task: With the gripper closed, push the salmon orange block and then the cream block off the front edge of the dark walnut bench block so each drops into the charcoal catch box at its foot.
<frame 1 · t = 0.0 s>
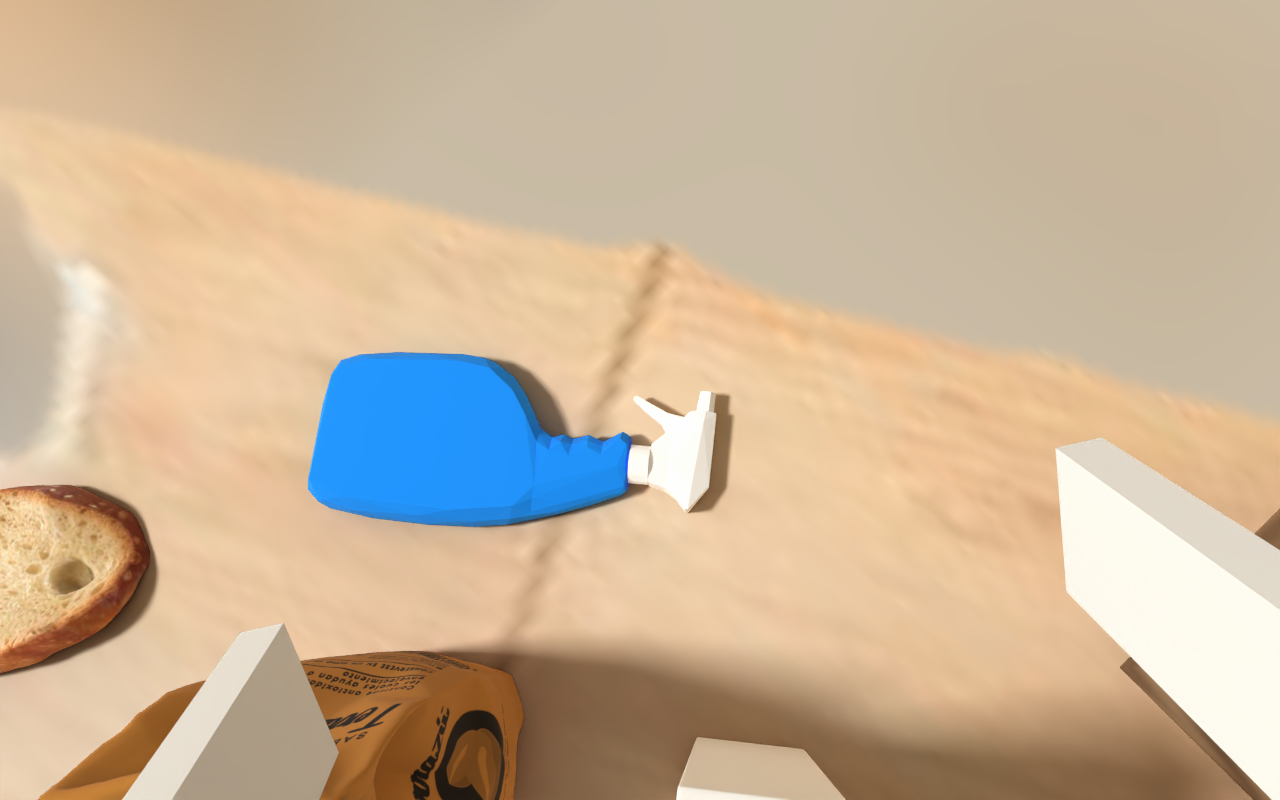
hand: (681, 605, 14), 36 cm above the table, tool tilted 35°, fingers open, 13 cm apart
coffee package: (425, 741, 49), on the table
spray bottle: (519, 448, 54), on the table
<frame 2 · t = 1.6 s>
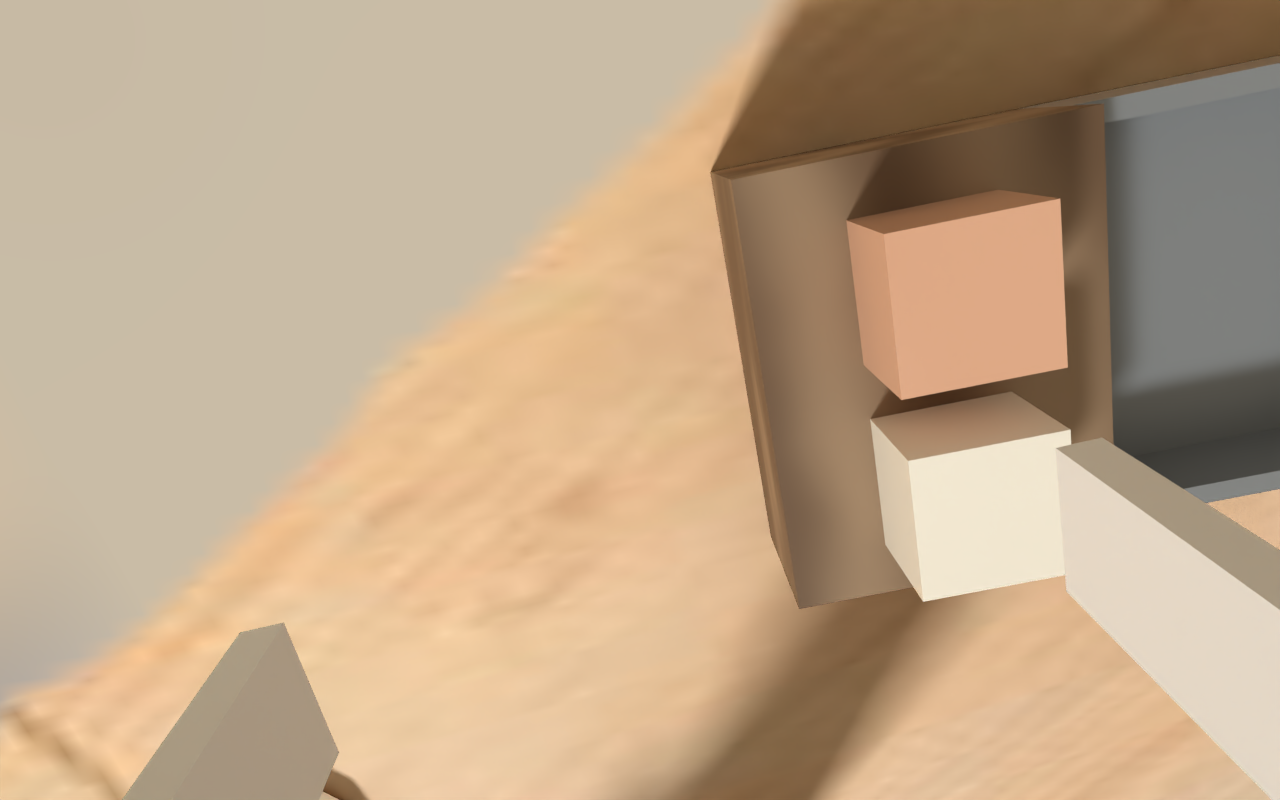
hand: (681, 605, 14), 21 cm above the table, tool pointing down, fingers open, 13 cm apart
salmon orange block: (929, 279, 28), point 6 cm above the table, touching bench block
cream block: (946, 470, 30), point 6 cm above the table, touching bench block
catch box: (1198, 276, 35), on the table
bench block: (885, 338, 35), on the table
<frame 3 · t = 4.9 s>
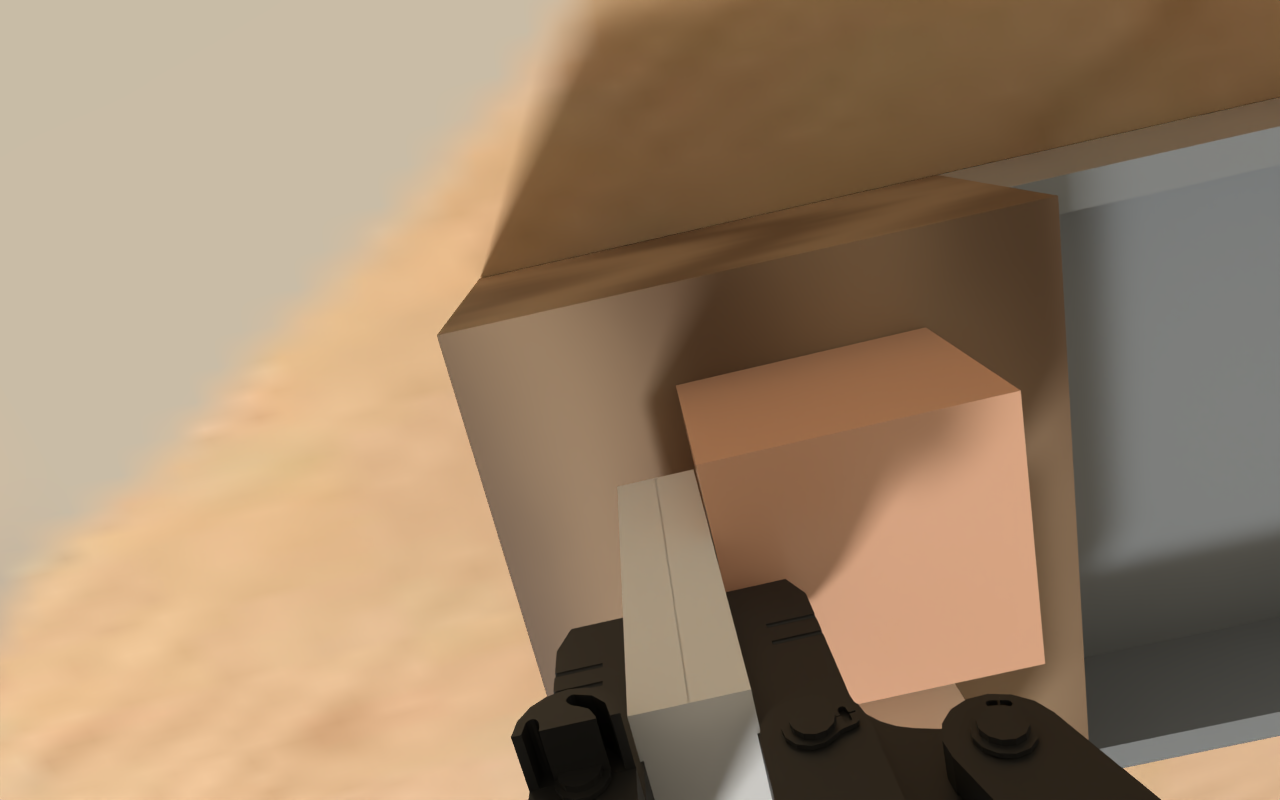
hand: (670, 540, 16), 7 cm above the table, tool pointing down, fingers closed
salmon orange block: (820, 470, 17), point 6 cm above the table
cream block: (830, 747, 20), point 6 cm above the table, touching bench block
catch box: (1210, 405, 24), on the table
bench block: (759, 503, 24), on the table
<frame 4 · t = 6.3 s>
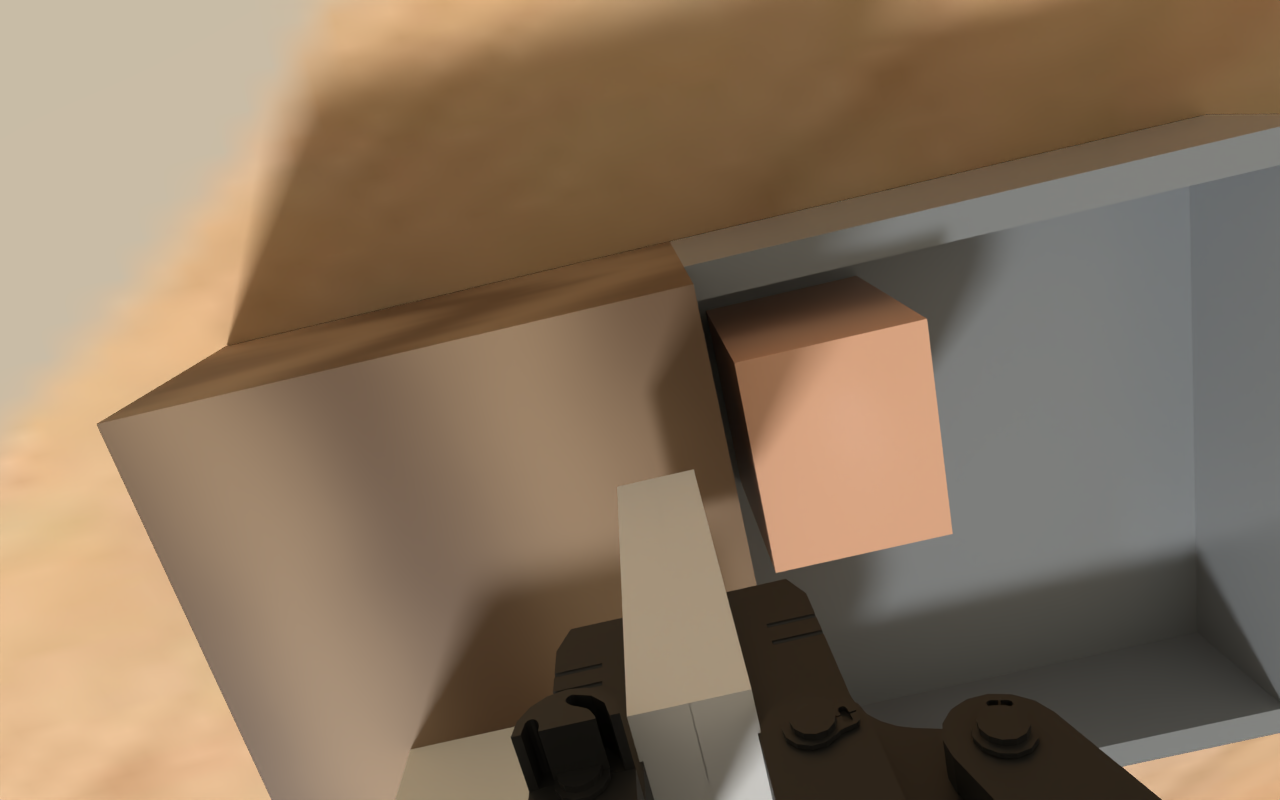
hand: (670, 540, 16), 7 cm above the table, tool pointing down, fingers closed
salmon orange block: (738, 431, 20), point 3 cm above the table, tilted 90°, touching catch box
catch box: (966, 459, 24), on the table
bench block: (526, 558, 25), on the table
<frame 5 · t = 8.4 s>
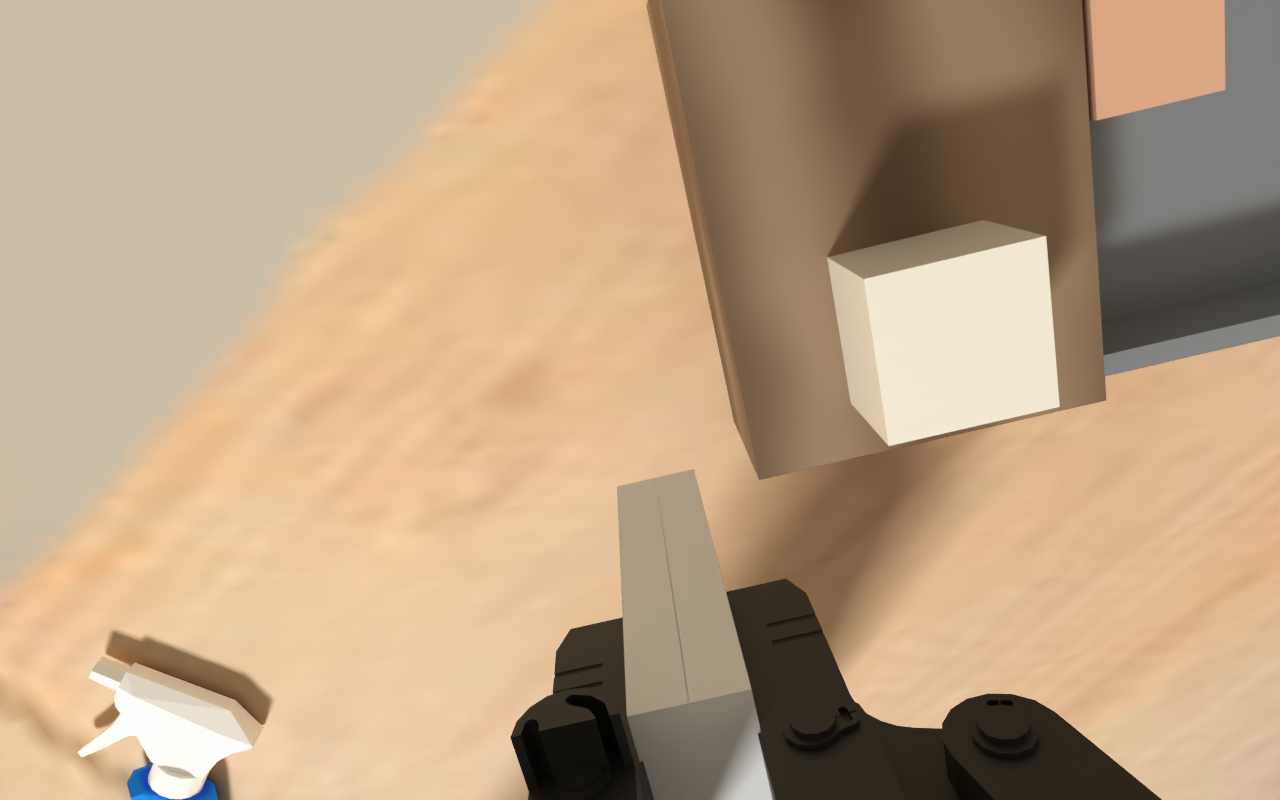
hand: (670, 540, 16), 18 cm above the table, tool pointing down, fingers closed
salmon orange block: (1050, 42, 28), point 3 cm above the table, tilted 90°, touching catch box
cream block: (914, 314, 27), point 6 cm above the table, touching bench block
catch box: (1189, 110, 32), on the table
bench block: (848, 192, 32), on the table
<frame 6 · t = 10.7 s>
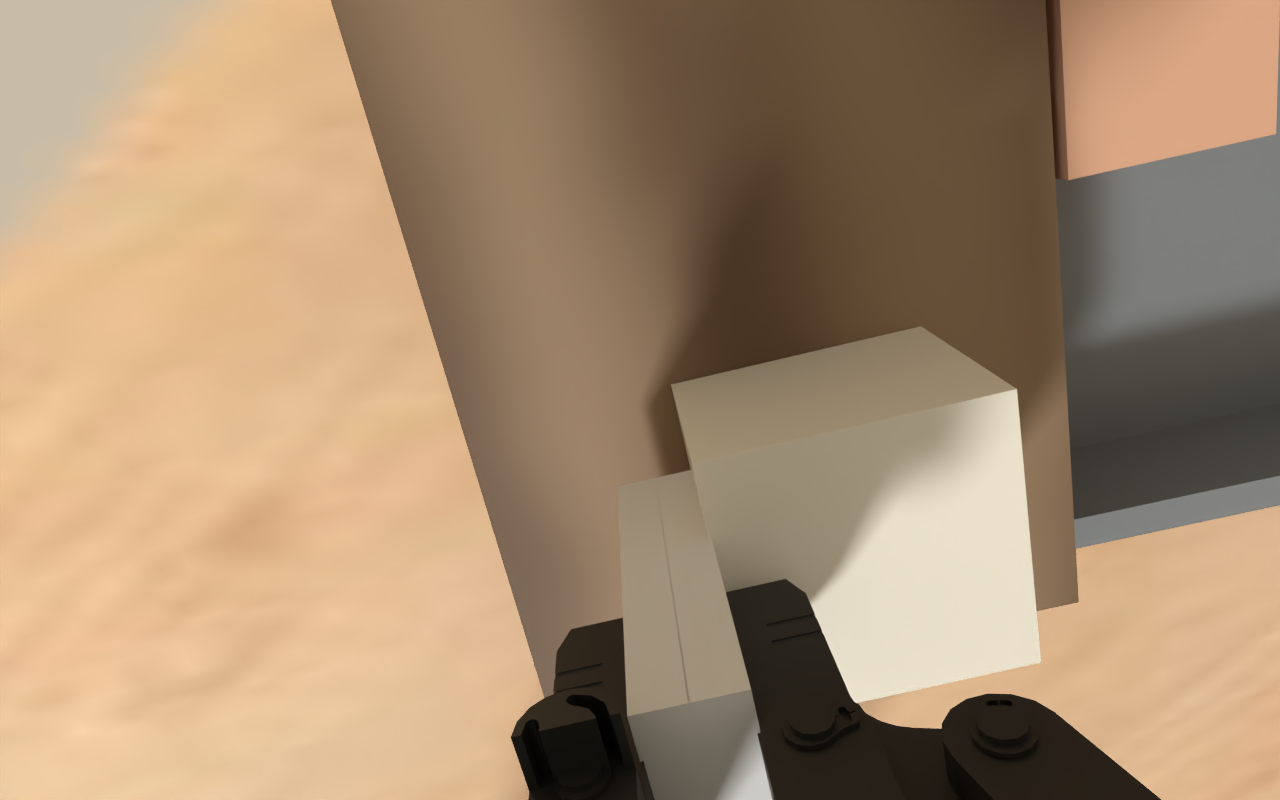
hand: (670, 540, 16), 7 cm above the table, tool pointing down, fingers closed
salmon orange block: (1000, 52, 18), point 3 cm above the table, tilted 90°, touching catch box
cream block: (815, 469, 17), point 6 cm above the table, touching gripper
catch box: (1209, 152, 22), on the table
bench block: (711, 263, 22), on the table
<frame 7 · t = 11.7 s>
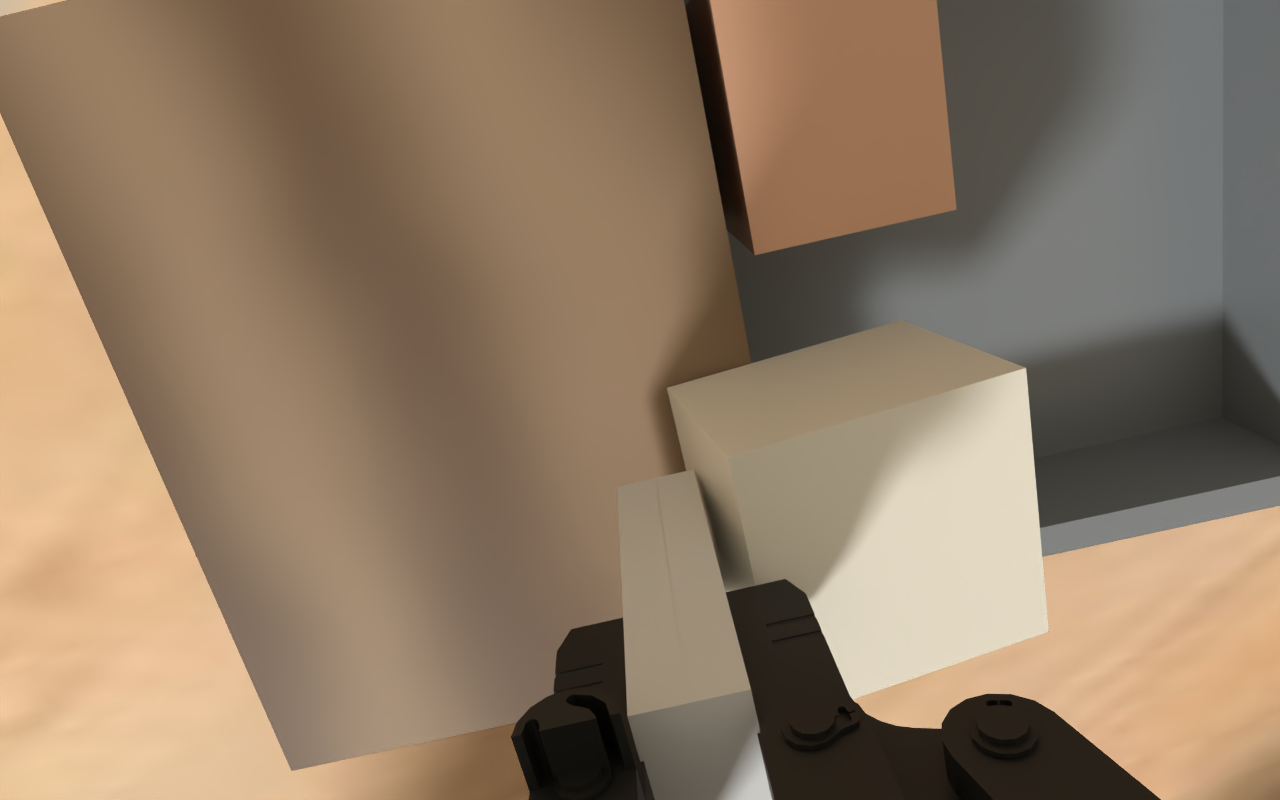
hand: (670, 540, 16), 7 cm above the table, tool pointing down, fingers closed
salmon orange block: (714, 123, 18), point 3 cm above the table, tilted 90°, touching catch box
cream block: (806, 465, 18), point 6 cm above the table, tilted 9°, touching bench block
catch box: (971, 208, 22), on the table
bench block: (484, 319, 22), on the table
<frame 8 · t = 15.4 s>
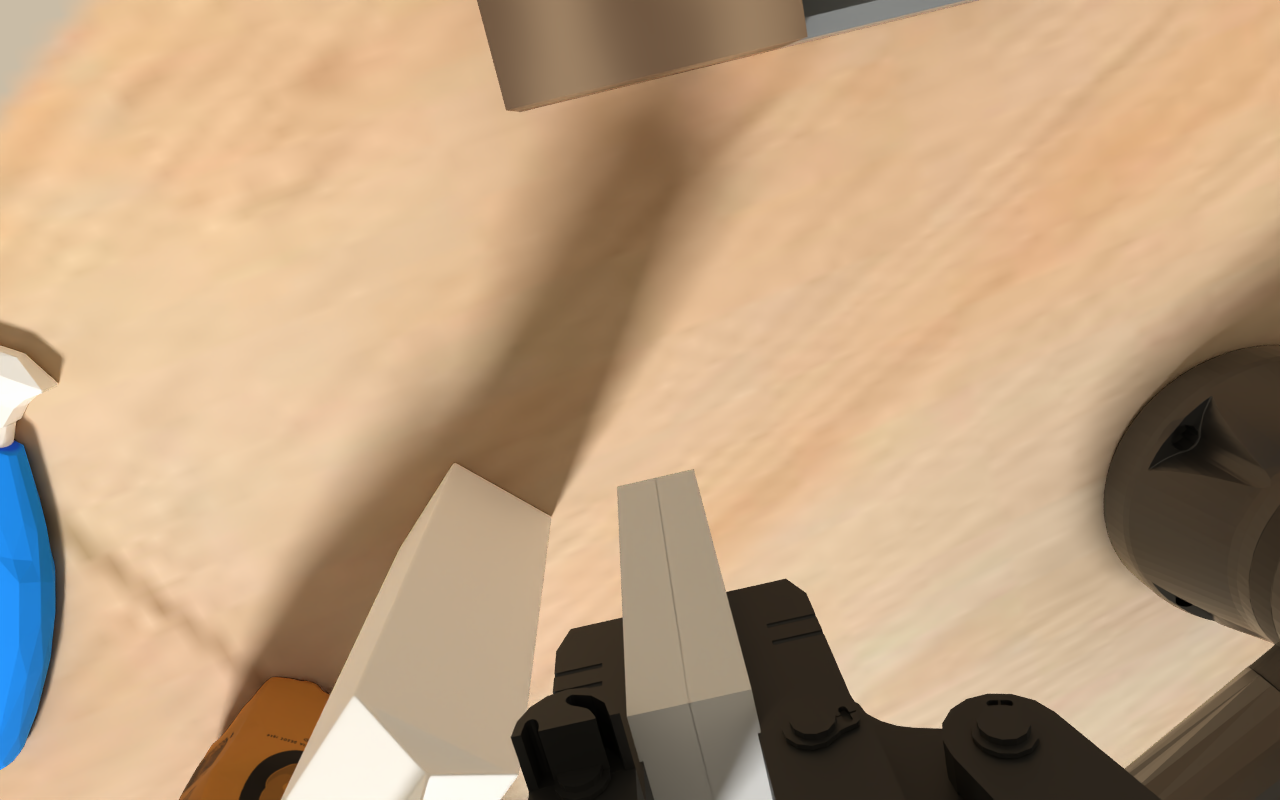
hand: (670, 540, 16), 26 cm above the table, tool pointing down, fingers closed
milk: (476, 530, 45), on the table
coffee package: (303, 761, 50), on the table
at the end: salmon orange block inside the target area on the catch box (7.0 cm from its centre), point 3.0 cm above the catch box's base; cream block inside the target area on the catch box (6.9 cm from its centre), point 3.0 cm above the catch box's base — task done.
